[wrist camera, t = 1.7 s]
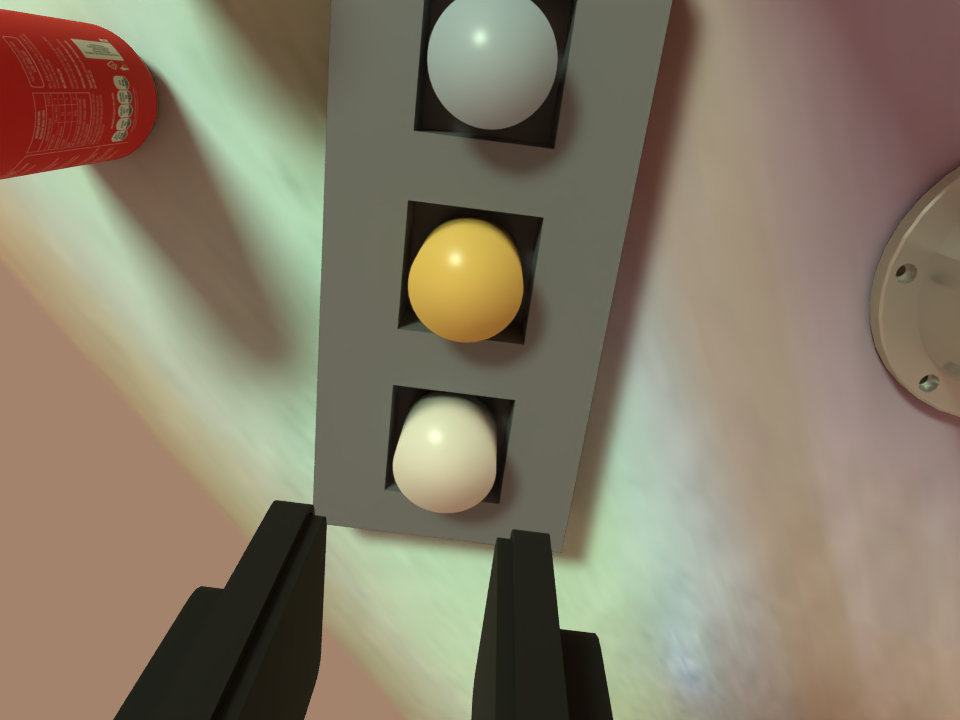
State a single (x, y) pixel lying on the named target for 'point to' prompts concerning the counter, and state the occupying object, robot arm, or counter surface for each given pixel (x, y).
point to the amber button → (467, 279)
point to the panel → (487, 193)
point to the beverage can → (69, 95)
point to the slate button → (492, 61)
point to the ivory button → (446, 452)
